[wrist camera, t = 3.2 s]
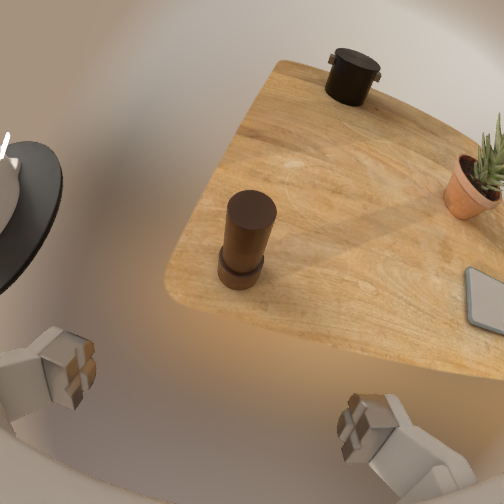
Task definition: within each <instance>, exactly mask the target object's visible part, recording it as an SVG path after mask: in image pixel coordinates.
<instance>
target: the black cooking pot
mask: <svg viewBox="0 0 504 504" xmlns="http://www.w3.org/2000/svg"><path fill="white" fill-rule="evenodd" d="M328 63H329V64H332V68H331V71H330V74H329V77H328V80H327V83H326V85H325V91H326V93H327V94H328V95H329V96H330V97H332V98H333V99H335V100H337V101H338V102H341V103H343V104H346V105H350V106H361V105H363V103H364V101H365V99H366V97H367V94H368V92H369V90H370V88H371V85H372V83H373V81H376V82H379V80H380V78H381V73H380V72H379V71H380V66H379V64H378V63H377V62H376V61H374V60H373V59H371V58H369V57H368V56H366V55H364V54H362V53H359V52H357V51H353V50H350V49H345V48H338V49H336V51H335V55H333V54H331V55H330V58H329V61H328Z"/></svg>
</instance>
